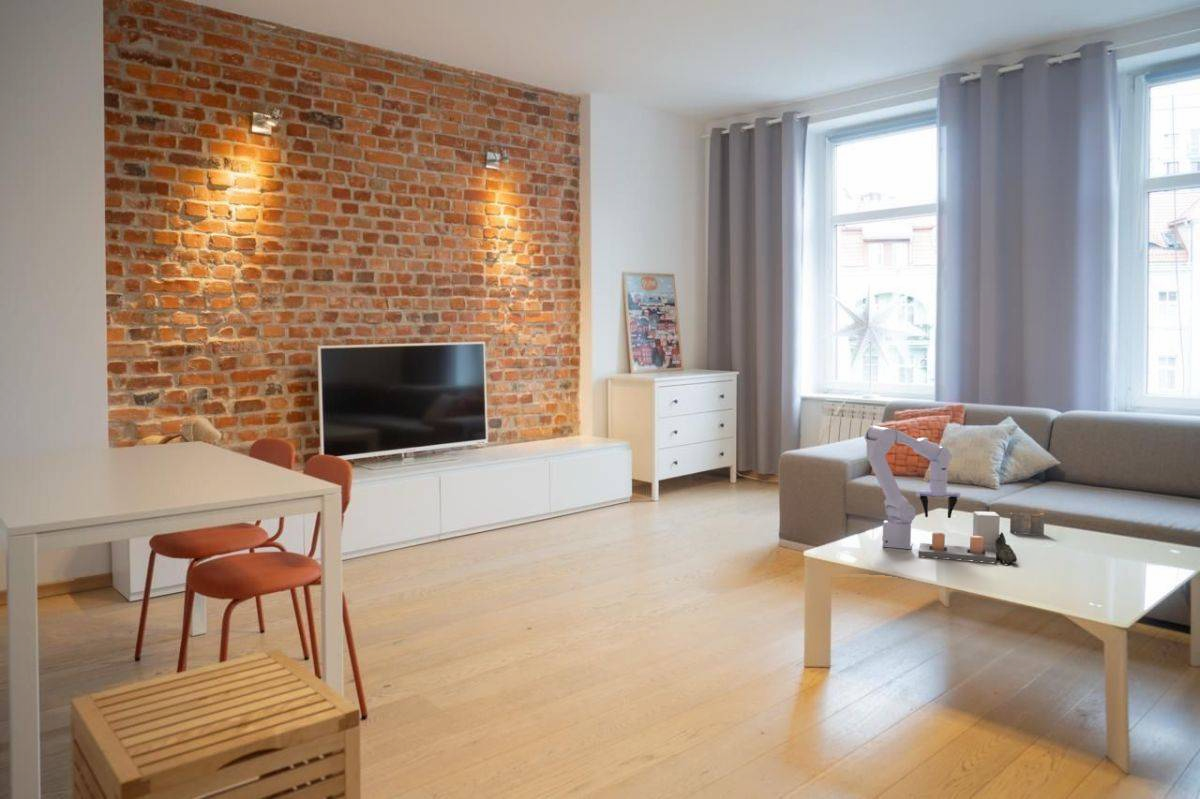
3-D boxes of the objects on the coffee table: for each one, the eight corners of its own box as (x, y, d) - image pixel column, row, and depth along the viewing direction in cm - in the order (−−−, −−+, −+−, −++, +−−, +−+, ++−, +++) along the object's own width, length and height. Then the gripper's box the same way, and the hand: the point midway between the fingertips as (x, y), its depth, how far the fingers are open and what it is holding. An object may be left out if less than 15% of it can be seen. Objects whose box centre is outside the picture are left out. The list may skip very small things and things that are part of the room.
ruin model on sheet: (1043, 535, 331) (1044, 509, 330) (1043, 536, 328) (1044, 510, 328) (1010, 532, 336) (1011, 506, 335) (1010, 533, 333) (1010, 508, 333)
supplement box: (999, 551, 305) (1000, 515, 304) (976, 551, 307) (977, 514, 306) (994, 546, 312) (995, 511, 311) (972, 545, 314) (973, 510, 313)
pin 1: (931, 555, 301) (932, 534, 301) (931, 552, 305) (932, 532, 304) (944, 556, 300) (944, 535, 299) (944, 553, 303) (944, 533, 303)
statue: (1017, 573, 288) (1006, 547, 306) (1021, 558, 286) (1010, 533, 305) (997, 569, 289) (987, 543, 308) (1001, 554, 287) (991, 529, 306)
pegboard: (918, 556, 299) (918, 550, 299) (920, 548, 310) (920, 543, 310) (996, 563, 290) (996, 557, 290) (995, 554, 301) (995, 549, 301)
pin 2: (969, 558, 297) (970, 537, 296) (969, 555, 300) (970, 535, 300) (982, 559, 295) (983, 538, 295) (982, 556, 299) (983, 536, 298)
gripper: (918, 480, 314) (917, 518, 315) (962, 482, 311) (961, 520, 312) (916, 477, 321) (915, 514, 322) (958, 478, 318) (957, 516, 319)
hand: (937, 517), depth 318 cm, fingers open, 7 cm apart
